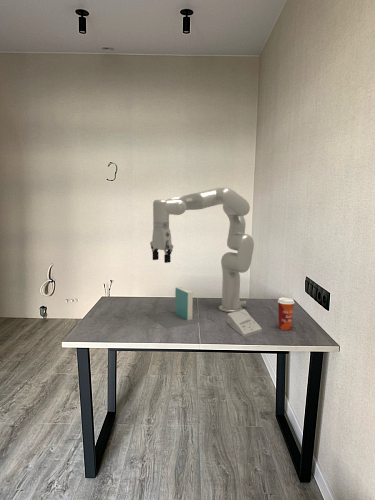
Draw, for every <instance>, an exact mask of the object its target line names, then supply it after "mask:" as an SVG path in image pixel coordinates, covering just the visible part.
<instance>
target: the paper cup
mask: <svg viewBox="0 0 375 500" xmlns="http://www.w3.org/2000/svg"><path fill="white" fill-rule="evenodd" d="M277 303H278V304H277V305H278V307H277V308H278V311H277V312H278V328H279V329H280V330H282V329H283V330H284V331H289V330H290V331H291V329H292V323H293V314H294V306H295V301H294V299H293V298H290V297H279V298H278V300H277Z"/></svg>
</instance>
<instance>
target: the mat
mask: <svg viewBox="0 0 375 500" xmlns="http://www.w3.org/2000/svg"><path fill="white" fill-rule="evenodd" d="M146 317H148V318H149V319H151V320H153V322H155V323H156V324H158V325H160V326H162V328H165V329H170V328H174V327H180V326H185V325H191V324H195V323H201V322H206V320H204V319H203V318H201V317H198V316H197V315H195V314H193V313H192V320H186V319H184V318H182V317H180V316H178V315H177V314H175V310H172V311H167V312H159V313H153V314H148V315H147V314H146Z"/></svg>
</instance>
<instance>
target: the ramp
mask: <svg viewBox="0 0 375 500" xmlns="http://www.w3.org/2000/svg"><path fill="white" fill-rule="evenodd" d="M226 317H227V318H226V323H228V326H230V328H231V329H233V330H234V331H236V332H237V333H238V334H239V335H241V336H242V337H243V338H247V337H250V336H251V337H252V336H254V335H257V334H261V333H262V331H263V328H262V327H261V325H260V324H258V322H257V321H256V320H255V319H254V318H253V317H252V316H251V315H250V314H249V312H248V311H247V310H246V309H245V308H242V310H241V311H238V312H227V316H226Z"/></svg>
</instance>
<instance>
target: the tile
mask: <svg viewBox="0 0 375 500" xmlns="http://www.w3.org/2000/svg"><path fill="white" fill-rule="evenodd" d="M174 291H175V294H174V295H175V297H174V298H175V300H174V301H175V302H174V303H175V306H174V307H175V310H174V311H175V314H177V315H178V316H180V317H182V318H184V319H186V320H192V314H193V303H194V302H193V299H194V297H193V294H194V292H193V291H191V290H188V289H186V288H184V287H181V286H178V287H175V290H174Z"/></svg>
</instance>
